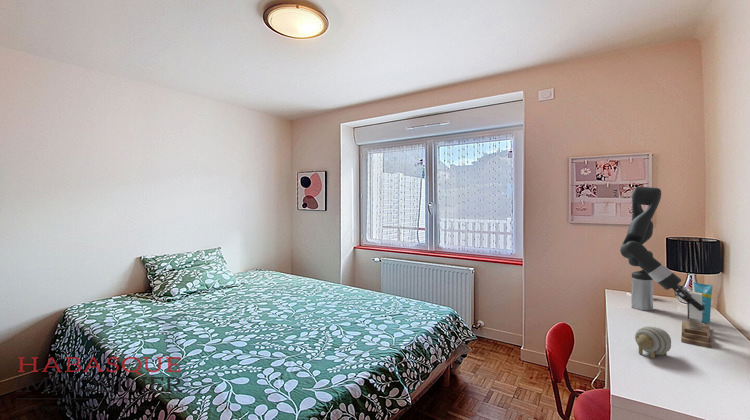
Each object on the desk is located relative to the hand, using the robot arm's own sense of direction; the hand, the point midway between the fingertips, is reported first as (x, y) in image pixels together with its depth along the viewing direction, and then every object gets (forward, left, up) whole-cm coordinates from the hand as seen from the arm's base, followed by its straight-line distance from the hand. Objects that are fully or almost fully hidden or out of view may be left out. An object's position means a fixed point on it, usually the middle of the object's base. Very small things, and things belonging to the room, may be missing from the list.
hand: (702, 308), depth 136 cm
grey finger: (-2, 0, -5) cm, 5 cm away
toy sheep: (-14, -29, -15) cm, 35 cm away
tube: (+1, +33, -15) cm, 36 cm away
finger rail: (-2, +8, -14) cm, 17 cm away
